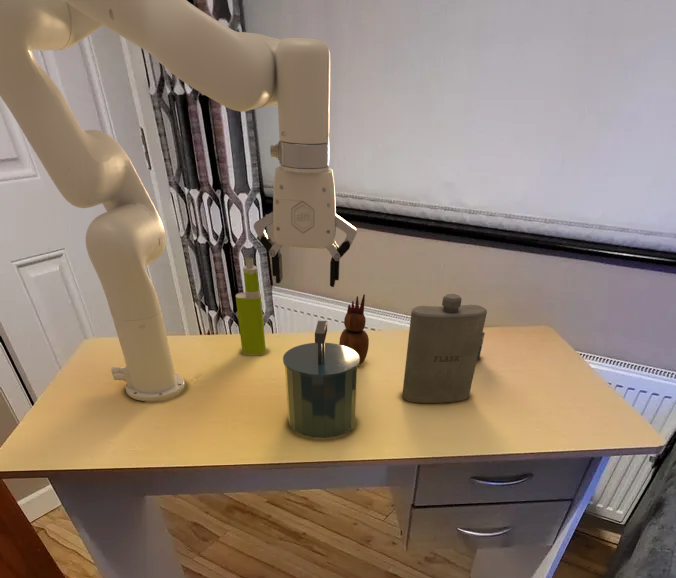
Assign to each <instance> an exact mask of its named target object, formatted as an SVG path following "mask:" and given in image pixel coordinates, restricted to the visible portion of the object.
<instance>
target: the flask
mask: <svg viewBox="0 0 676 578" xmlns="http://www.w3.org/2000/svg"><path fill="white" fill-rule="evenodd" d="M461 297H462V296H460V295H459V294H455V293H448V294H445V295H444V296H443V297H442V302H441V306H438V305H437V306H435V305H434V306H433V305H418V306H416V307H413V308H412V309H411V311H410V312H411V313H410V321H409V329H408V330H409V331H408V338H407V347H406V356H405V367H404V376H403V383H402V384H403V386H402V393H401V396H402V398H403V400H404V401H407V402H411V403H416V404H417V403H418V404H445V403H447V404H448V403H455V402H461V401H464V400H467V399H469V397H470V395H471V390H472V384H473V380H474V375H475V370H476V366H477V361H478V359H477V357H478V352H479V347H480V342H481V338H482V333H483V332H484V328H485V323H486V318H487V313H488V310H487V309H486V308H485V307H483V306H481V305H478V304H464V305H463V304H462V300H463V299H462V298H461Z"/></svg>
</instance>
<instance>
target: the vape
mask: <svg viewBox="0 0 676 578" xmlns="http://www.w3.org/2000/svg"><path fill="white" fill-rule="evenodd" d="M258 270H259V269H258V266H257V265H254V258H253V257H252V256H248V257H247V256H246V257H245V265H244V266H242V271H243V280H244V281H243V282H244V288H245V290H244V292H237V293H236V294H235V303H236V311H237V319H238V320H237V321H238V327H239V335H240V343H241V344H240V345H241V352H242V354H243V355H245V356H248V355H249V356H263V355H265V354H266V353H267V349H266V347H267V346H266V337H265V325H264V315H263V301H262V294H261V291H260V283H259V273H258Z"/></svg>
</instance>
